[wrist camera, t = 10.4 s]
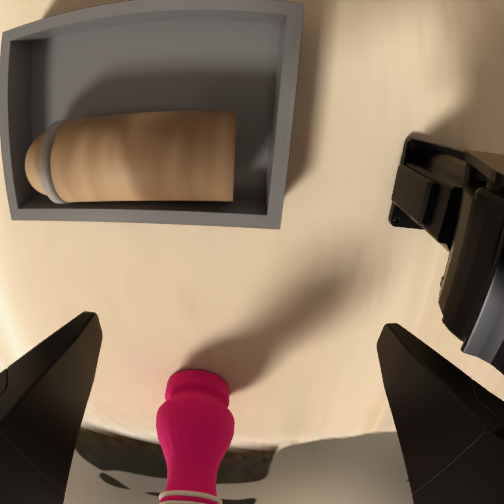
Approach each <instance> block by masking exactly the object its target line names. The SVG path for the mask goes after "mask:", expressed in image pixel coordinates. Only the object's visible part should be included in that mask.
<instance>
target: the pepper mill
mask: <svg viewBox="0 0 504 504" xmlns="http://www.w3.org/2000/svg"><path fill="white" fill-rule="evenodd" d="M165 399H166V402H164V403H163V404H162V405H161V406H160V408H159V409H158V412H157V418H156V428H157V434H158V439H159V442H160V444H161V447H162V450H163V453H164V456H165V459H166V462H167V469H168V476H167V485H166V490H165V492H163V493H161V494H160V495H159V499H160V503H159V504H222V501H221V499H219V498H218V497H217V494H216V477H217V470H218V467H219V464H220V462H221V460H222V458H223V456H224V454H225V453H226V451H227V449H228V447H229V446H230V443H231V440H232V437H233V434H234V424H235V423H234V418H233V415H232V413H231V412H230V410H229V409H228V408H227V407H228V405H229V388H228V385H227V383H226V382H225V381H224V380H223V379H222V378H221V377H219V376H217V375H216V374H213V373H210V372H207V371H202V370H185V371H180V372H178V373H176V374H174V375H173V376H172V377H171V378H170V379H169V380H168V382H167V388H166V393H165Z"/></svg>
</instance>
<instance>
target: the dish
mask: <svg viewBox="0 0 504 504" xmlns="http://www.w3.org/2000/svg"><path fill="white" fill-rule="evenodd" d="M303 8H304V4H300V3H293V2H286V1H278V0H133V1H125V2H118V3H112V4H106V5H100V6H95V7H89V8H85V9H80V10H75V11H71V12H67V13H63V14H59V15H55V16H52V17H48V18H44V19H41V20H38V21H34V22H31V23H28V24H25V25H22V26H19V27H16V28H14V29H11V30H8V31H5V32H3V34H2V43H1V55H0V138H1V151H2V161H3V169H4V177H5V184H6V191H7V197H8V203H9V208H10V213H11V219H12V220H39V221H91V222H127V223H156V224H181V225H204V226H225V227H245V228H264V229H280V225H281V217H282V209H283V201H284V193H285V185H286V176H287V168H288V159H289V150H290V141H291V132H292V123H293V114H294V104H295V95H296V85H297V75H298V64H299V54H300V43H301V32H302V20H303ZM162 111H236V134H235V161H234V187H233V201H93V202H72V203H60V204H59V203H55V202H53V201H51V200H50V199H49V197H48V196H47V195H45V194H42V193H40V192H38V191H37V190H36V189H35V188H34V187H33V186H32V185H31V184H30V182H29V180H28V178H27V175H26V171H25V159H26V155H27V152H28V149H29V147H30V146H31V144H32V143H33V141H34V140H35V139H36V138H37V137H38V136H39V135H41V134H42V133H44V132H46V131H47V130H48V128H49V127H50V126H51V125H52V124H53V123H54V122H56V121H59V120H66V119H79V118H87V117H96V116H105V115H116V114H128V113H142V112H162Z"/></svg>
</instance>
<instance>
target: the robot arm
mask: <svg viewBox="0 0 504 504" xmlns="http://www.w3.org/2000/svg"><path fill="white" fill-rule="evenodd" d="M411 143H413V147H412V148H410V144H411ZM396 217H397V220H396V221H394V218H396ZM388 220H389V222H390V223H391V224H392V226H395V227H404V228H414V229H424V230H426V231H427V232H428V233H429V234H430V235H431V236H432V237H433V238H434V239H435V240H436V241H437V242H439V243H440V244H441V245H442V246H443V247H444V248H445V249H446V250H447V251H448V252H449V253H450V254H449V258H448V262H447V266H446V269H445V273H444V276H443V277H442V279H441V282H440V286H441V289H440V293H439V301H438V303H439V306H440V309H441V312H442V314H443V318H442V321H443V323H444V324H445V326H446V327H447V328H448V329H449V331H450V332H451V333H452V334H453V335H455V336H456V337H457V338H458V339H459V340H461V341H463V342H464V343H463V345H462V347H461V351H462V352H463V353H466V354H470V355H473V356H476V357H479V358H481V359H482V360H484V361H486V362H488V363H490V364H491V365H493V366H494V367H495V368H496V369H498V370H499V371H500V372H501V373H502V374H503V375H504V155H500V154H493V153H485V152H478V151H469V150H465V152H462V151H458V150H455V149H451V148H448V147H444V146H441V145H437V144H433V143H429V142H425V141H421V140H417V139H413V138H408V139H407V140H406V141H405V143H404V148H403V153H402V159H401V164H400V166H399V167H398V171H397V176H396V180H395V185H394V190H393V194H392V205H391V210H390V214H389V218H388ZM101 343H102V330H101V326H100V322H99V318H98V315H97V314H96V313H95V312H87V311H85V312H82V313H81V314H80V315H78V316H77V317H75V318H74V319H73V320H71V321H70V322H68V323H67V324H66V325H64V326H63V327H61V328H60V329H59V330H57V331H56V332H54V333H53V334H52V335H50V336H49V337H48V338H46V339H45V340H43V341H42V342H41V343H39V344H38V345H37V346H35V347H34V348H33V349H31V350H30V351H29V352H27V353H26V354H25V355H23V356H22V357H21V358H19V359H18V360H17V361H15V362H14V363H13V364H11V365H10V366H9V367H8V369H5V370H3V371H2V372H1V373H0V504H63V502H64V497H65V491H66V486H67V480H68V476H69V471H70V467H71V462H72V458H73V454H74V450H75V446H76V442H77V438H78V434H79V430H80V426H81V423H82V419H83V415H84V412H85V408H86V405H87V401H88V398H89V395H90V391H91V388H92V385H93V381H94V377H95V372H96V367H97V362H98V357H99V352H100V347H101ZM377 352H378V357H379V362H380V367H381V373H382V378H383V383H384V388H385V391H386V395H387V398H388V402H389V405H390V409H391V412H392V416H393V419H394V423H395V426H396V430H397V434H398V438H399V441H400V445H401V449H402V453H403V457H404V461H405V466H406V470H407V474H408V478H409V483H410V487H411V492H412V494H413V495H412V497H413V502H414V504H504V401H502V400H501V399H499V398H498V397H496V396H495V395H493V394H492V393H490V392H489V391H488V390H486V389H485V388H484V387H482V386H481V385H480V384H478V383H477V382H476V381H474V380H472V379H471V378H470V377H469V376H468V375H466V374H465V373H464V372H462V371H461V370H460V369H459V368H457V367H456V366H455V365H453V364H452V363H451V362H449V361H448V360H447V359H445V358H444V357H443V356H441V355H440V354H438V353H437V352H436V351H434V350H433V349H432V348H430V347H429V346H428V345H426V344H425V343H424V342H422V341H421V340H420V339H418V338H417V337H415V336H414V335H413V334H411V333H410V332H409V331H407V330H406V329H405V328H403V327H402V326H400V325H399V324H397V323H387V324H385V325H384V327H383V330H382V332H381V334H380V337H379V339H378V341H377Z"/></svg>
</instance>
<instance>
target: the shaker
mask: <svg viewBox="0 0 504 504" xmlns="http://www.w3.org/2000/svg"><path fill="white" fill-rule="evenodd" d="M235 134H236V111H162V112H142V113H128V114H116V115H105V116H96V117H87V118H79V119H66V120H59V121H56V122H54V123H53V124H52V125H51V126H50V127H49V128H48V130H47V131H46V132H44V133H42V134H41V135H39V136H38V137H37V138H36V139H35V140H34V141H33V143H32V144H31V146H30V147H29V149H28V152H27V155H26V159H25V171H26V175H27V178H28V180H29V182H30V184H31V185H32V186H33V187H34V188H35V189H36V190H37V191H38V192H40V193H42V194H45V195H47V196H48V197H49V199H50V200H51V201H53V202H55V203H59V204H60V203H72V202H93V201H233V187H234V161H235Z"/></svg>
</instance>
